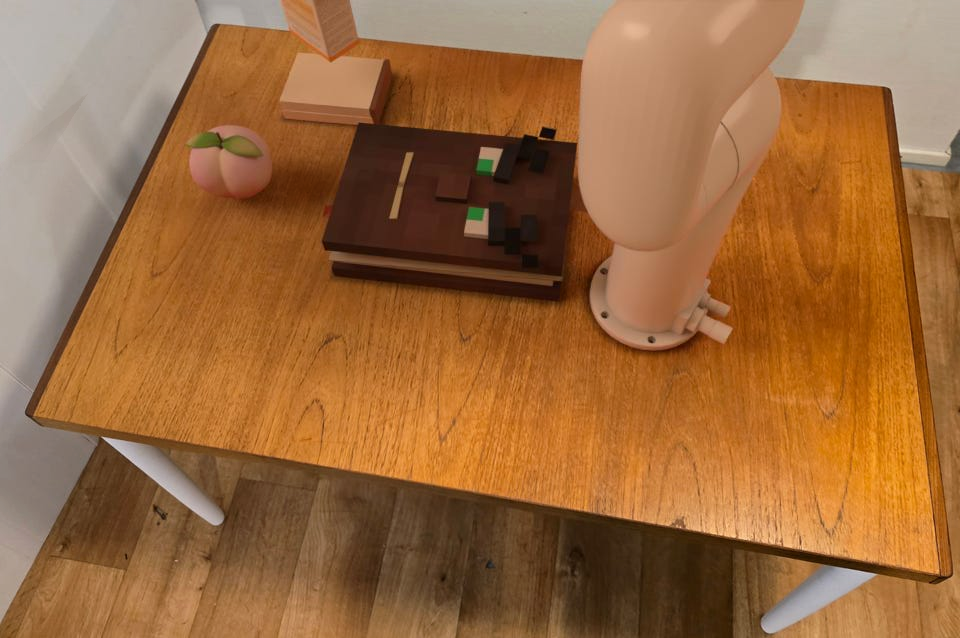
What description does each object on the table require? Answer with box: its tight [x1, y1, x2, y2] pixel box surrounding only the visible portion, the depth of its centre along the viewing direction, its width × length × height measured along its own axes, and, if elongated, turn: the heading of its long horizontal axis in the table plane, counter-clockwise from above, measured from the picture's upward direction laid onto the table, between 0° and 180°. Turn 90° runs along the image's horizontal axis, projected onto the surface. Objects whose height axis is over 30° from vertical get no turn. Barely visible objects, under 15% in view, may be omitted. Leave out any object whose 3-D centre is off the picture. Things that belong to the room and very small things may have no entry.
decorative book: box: [321, 122, 589, 303], centre depth 83 cm, size 19×8×30 cm
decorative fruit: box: [185, 124, 273, 199], centre depth 86 cm, size 9×8×10 cm
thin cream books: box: [278, 52, 393, 126], centre depth 96 cm, size 12×9×3 cm
